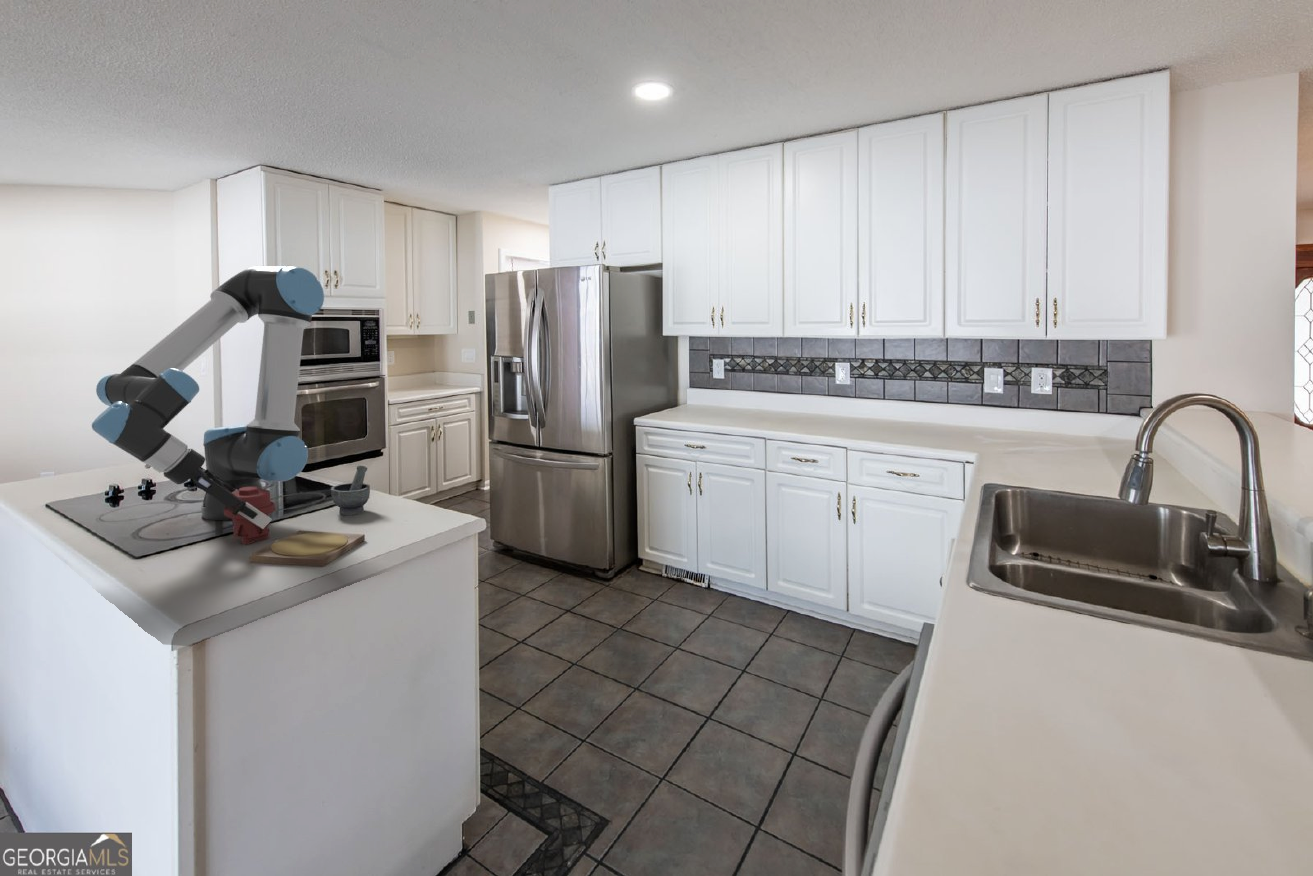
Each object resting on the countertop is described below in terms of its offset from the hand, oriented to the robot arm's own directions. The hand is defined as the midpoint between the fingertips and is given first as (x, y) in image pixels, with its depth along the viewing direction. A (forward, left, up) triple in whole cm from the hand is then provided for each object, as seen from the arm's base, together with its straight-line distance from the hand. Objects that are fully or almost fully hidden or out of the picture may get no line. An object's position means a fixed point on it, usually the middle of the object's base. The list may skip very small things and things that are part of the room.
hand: (261, 516), depth 148 cm
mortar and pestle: (-24, +8, -5) cm, 26 cm away
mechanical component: (+2, -2, -5) cm, 6 cm away
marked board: (+6, +15, -5) cm, 17 cm away
